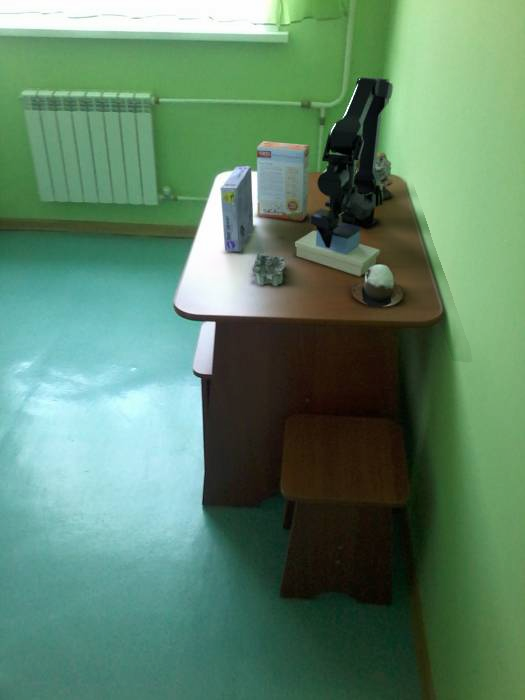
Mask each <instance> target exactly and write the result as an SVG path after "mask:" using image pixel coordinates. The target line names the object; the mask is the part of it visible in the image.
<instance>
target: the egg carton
mask: <svg viewBox="0 0 525 700" xmlns="http://www.w3.org/2000/svg"><path fill="white" fill-rule="evenodd" d="M255 256H256V257H255V260H254V263H253V267H252V273H253V276H254V283H256V284H258V285H259V286H264V285H265V284H271V285H272V286H274V287H277V286H278V285H280V284H282V283H283V280H284V276H283V275H284V269H285V266H286V263H285V259H284V256H280V257H278V255H272V254H261V253H258V252H257V253H256V255H255Z"/></svg>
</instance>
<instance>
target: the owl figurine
mask: <svg viewBox="0 0 525 700" xmlns="http://www.w3.org/2000/svg"><path fill="white" fill-rule="evenodd" d="M359 161H360V158H359V160H357V162H356V164H355V173H354V176H355V174H356V173H357V171H358V170H359ZM376 170H377V172H378V174H379V176H380V186H381V188H382V192H383V201H385V200H388V199H389V198H390V197H391V191H390V190H389V189H388V188H387V187H389V186H391V185H393V180H392V179H388V178H389V177H390V176H391V172H392V171H391V170H392V162H391V161H390V160H389V159H388V157H387V154H386V153H385V152H383V151H377V158H376Z"/></svg>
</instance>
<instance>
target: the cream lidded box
mask: <svg viewBox="0 0 525 700" xmlns="http://www.w3.org/2000/svg"><path fill="white" fill-rule="evenodd" d="M316 235H317V230H312V231H310V232H309V233H307V234H306V235H304V236H302V237H301V238H299V239H297V240H296V241H294V247H296V254H295V255H296V257H298V258H302V259H305V260H307V261H310V262H314V263H317V264H319V265H324V266H326V267H329V268H333V269H336V270H339V271H342V272H345V273H348V274H351V275H354V276H357V277H362V276H363V275H365V273H366V272H368V269H369V268H370V267H372V266H374V265H377V257H378V256H380V254H381V249H378V248H375V247H371V246H368V245H366V244H361V243H359V246H358V247H356V248H355V249H354V250H352V251H351V252H349V253H348V254H347V255H345V254H342V253H339V252H336V251H332V250H329V249H326V248H323V247H319V246H316Z"/></svg>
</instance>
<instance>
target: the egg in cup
mask: <svg viewBox="0 0 525 700" xmlns="http://www.w3.org/2000/svg"><path fill="white" fill-rule="evenodd" d="M351 294H352V296H353V297H354V299H356V300H357V301H358V302H360V303H362V304H365V305H367V306H370V307H377V308H381V307H390V306H394V305H396V304H398V303H400V301H402V299H403V296H404V291H403V290H402V288H401V287H400V285H398V284H396V283H395V280H394V275H393V273H392V271H391V269H390V267H388V265H386V264H380V263H378V264H376V265H374V266H372V267H370V268H369V269H368V271H367V272H365V273H364V278H363V279H361V280H359V281H357V282H355V283H354V284H353V285H352V287H351Z"/></svg>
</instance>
